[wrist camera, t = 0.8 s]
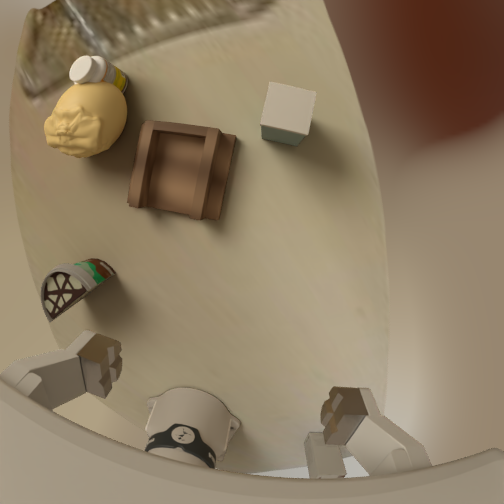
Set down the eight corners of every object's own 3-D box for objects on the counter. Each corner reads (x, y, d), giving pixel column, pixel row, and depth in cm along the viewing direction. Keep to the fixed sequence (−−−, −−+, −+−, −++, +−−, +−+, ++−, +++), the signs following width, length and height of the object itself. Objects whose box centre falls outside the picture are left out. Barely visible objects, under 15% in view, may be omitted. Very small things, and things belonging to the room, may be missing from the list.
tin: (297, 147, 38) (308, 134, 28) (260, 139, 38) (260, 124, 28) (304, 113, 37) (316, 92, 27) (268, 105, 37) (269, 81, 27)
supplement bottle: (96, 101, 37) (59, 87, 27) (106, 72, 36) (72, 52, 26) (123, 102, 37) (88, 85, 27) (133, 71, 36) (101, 48, 26)
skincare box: (303, 443, 51) (308, 486, 39) (309, 430, 50) (316, 475, 38) (329, 443, 51) (338, 485, 39) (336, 431, 50) (347, 474, 38)
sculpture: (71, 156, 39) (29, 153, 29) (88, 89, 36) (49, 72, 26) (125, 163, 39) (85, 159, 29) (144, 89, 36) (110, 66, 26)
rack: (219, 219, 41) (213, 223, 37) (131, 202, 41) (117, 204, 36) (236, 137, 38) (233, 131, 34) (146, 125, 38) (133, 119, 34)
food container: (102, 237, 42) (66, 250, 32) (121, 268, 43) (90, 289, 34) (62, 273, 44) (28, 291, 34) (79, 301, 45) (48, 323, 35)
